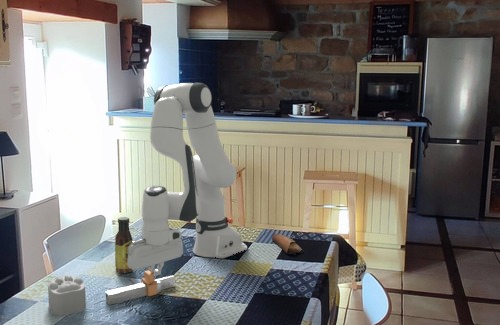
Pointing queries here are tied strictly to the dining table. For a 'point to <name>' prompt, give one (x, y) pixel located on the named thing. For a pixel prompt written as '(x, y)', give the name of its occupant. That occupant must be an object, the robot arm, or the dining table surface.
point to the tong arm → (130, 293)
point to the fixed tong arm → (165, 283)
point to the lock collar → (150, 283)
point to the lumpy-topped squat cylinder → (66, 295)
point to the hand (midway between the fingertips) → (155, 275)
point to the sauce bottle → (122, 245)
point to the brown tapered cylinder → (286, 243)
